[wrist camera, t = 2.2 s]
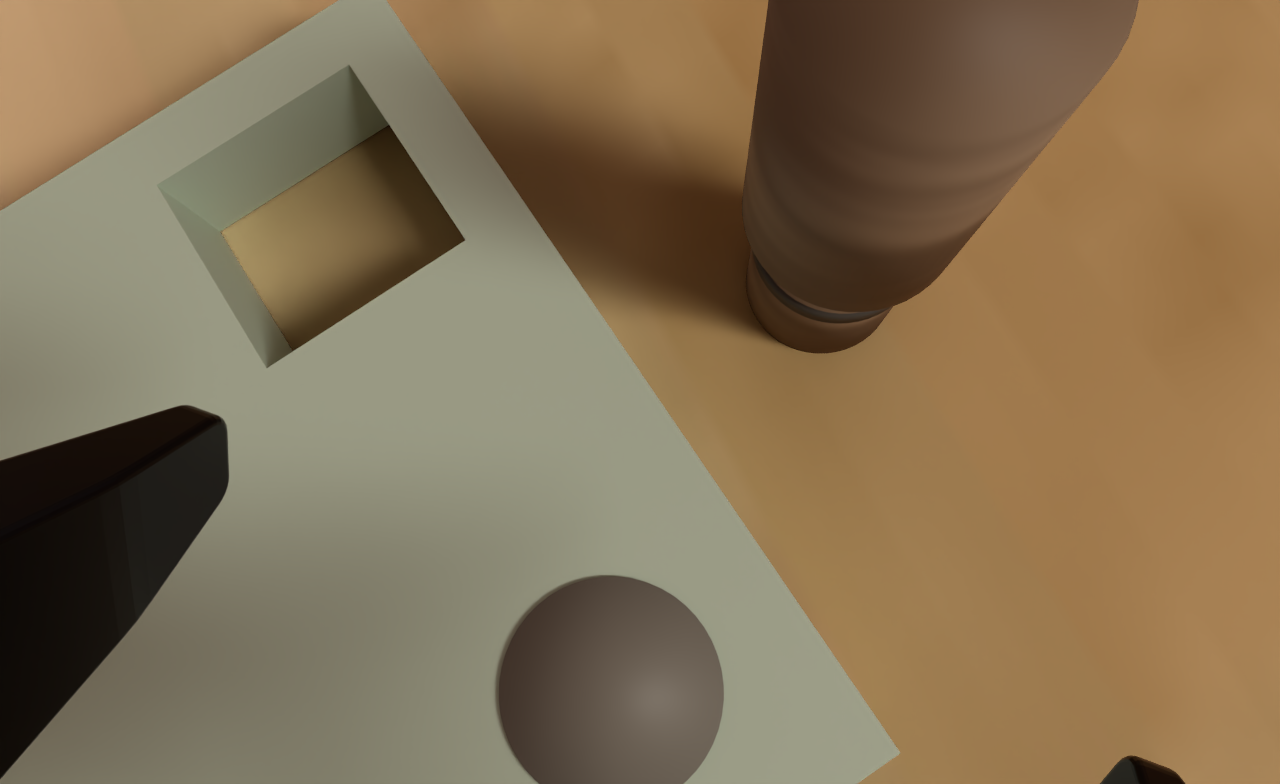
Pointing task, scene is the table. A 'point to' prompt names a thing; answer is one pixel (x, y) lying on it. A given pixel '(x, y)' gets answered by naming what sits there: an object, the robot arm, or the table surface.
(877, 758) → the seat board
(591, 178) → the table surface
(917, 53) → the stool leg
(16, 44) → the table surface
